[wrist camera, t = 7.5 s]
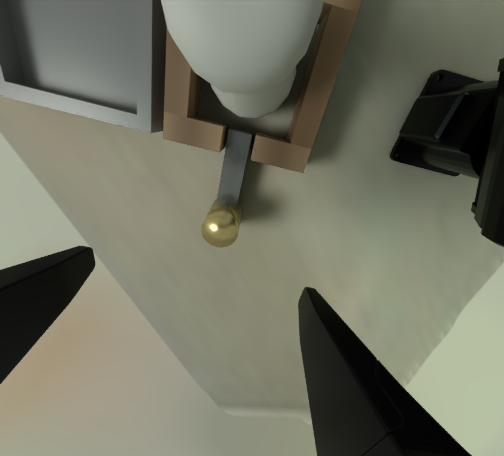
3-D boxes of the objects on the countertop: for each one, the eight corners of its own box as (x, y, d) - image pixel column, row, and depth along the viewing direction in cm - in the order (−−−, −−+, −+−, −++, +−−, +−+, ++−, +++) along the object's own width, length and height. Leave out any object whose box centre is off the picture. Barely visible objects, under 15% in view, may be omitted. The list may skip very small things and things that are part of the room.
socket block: (352, -4, 14) (373, -32, 11) (297, 165, 19) (303, 173, 17) (188, -57, 13) (171, -100, 11) (177, 135, 18) (162, 138, 16)
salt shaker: (253, 133, 18) (242, 165, 7) (199, 77, 16) (60, -12, 5) (307, 72, 16) (426, -34, 5) (252, 0, 14) (224, -459, 3)
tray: (170, -60, 13) (152, -96, 11) (164, 130, 18) (150, 132, 16) (-22, -122, 12) (-83, -173, 10) (27, 96, 17) (-7, 94, 15)
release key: (259, 134, 18) (259, 140, 14) (238, 226, 22) (234, 250, 18) (224, 126, 18) (215, 129, 14) (210, 220, 22) (199, 243, 18)
